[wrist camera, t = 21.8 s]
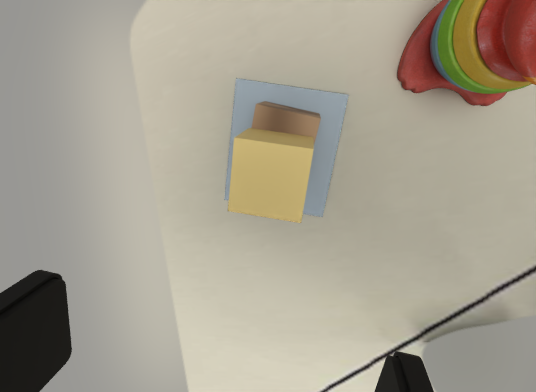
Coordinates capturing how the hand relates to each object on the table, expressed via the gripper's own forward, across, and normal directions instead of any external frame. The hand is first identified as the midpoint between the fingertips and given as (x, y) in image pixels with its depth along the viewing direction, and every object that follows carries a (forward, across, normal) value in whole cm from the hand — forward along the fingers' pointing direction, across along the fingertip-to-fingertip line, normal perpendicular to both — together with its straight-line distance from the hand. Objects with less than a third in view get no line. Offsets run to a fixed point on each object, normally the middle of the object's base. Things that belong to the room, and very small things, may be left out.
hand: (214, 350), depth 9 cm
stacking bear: (+30, -14, -13) cm, 36 cm away
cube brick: (+23, +1, 0) cm, 23 cm away
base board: (+30, +2, 0) cm, 30 cm away
